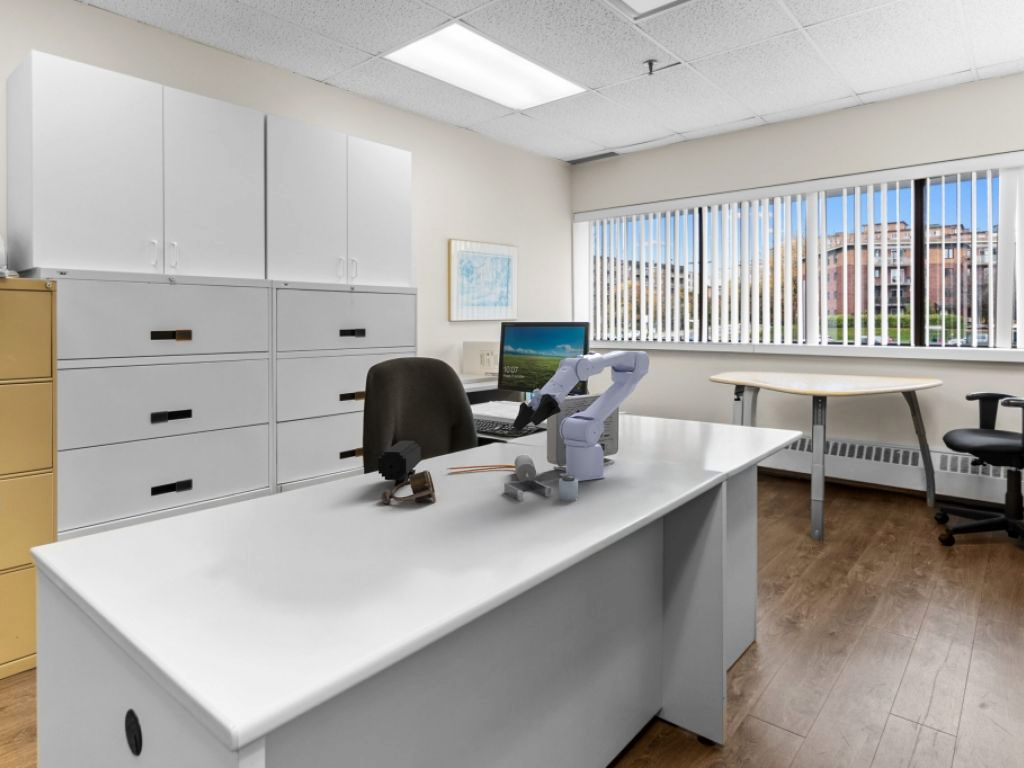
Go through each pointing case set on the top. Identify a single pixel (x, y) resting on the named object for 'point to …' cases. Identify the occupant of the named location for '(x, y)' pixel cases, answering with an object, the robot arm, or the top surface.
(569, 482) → the light grey cylinder
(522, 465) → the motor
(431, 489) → the mechanical counter
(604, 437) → the network device
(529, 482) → the clip cradle
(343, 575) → the top surface
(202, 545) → the top surface
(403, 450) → the security camera
